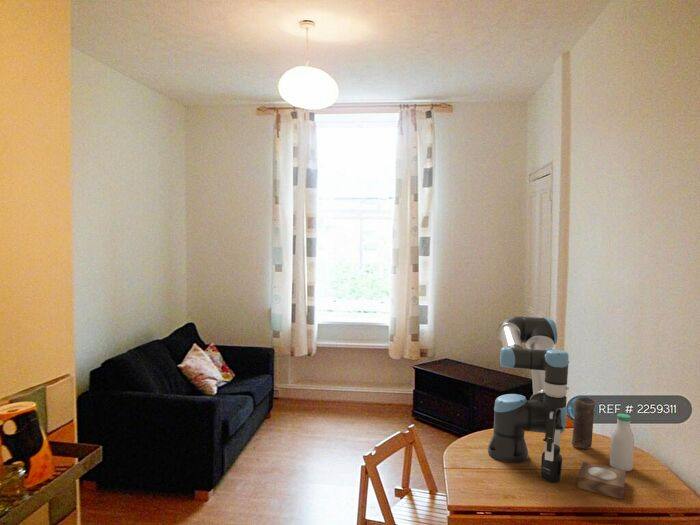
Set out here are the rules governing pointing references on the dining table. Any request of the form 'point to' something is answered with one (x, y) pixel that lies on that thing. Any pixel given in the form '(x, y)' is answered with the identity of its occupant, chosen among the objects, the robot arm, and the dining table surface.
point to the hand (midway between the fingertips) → (552, 453)
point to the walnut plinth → (602, 480)
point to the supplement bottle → (552, 467)
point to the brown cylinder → (583, 423)
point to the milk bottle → (622, 444)
